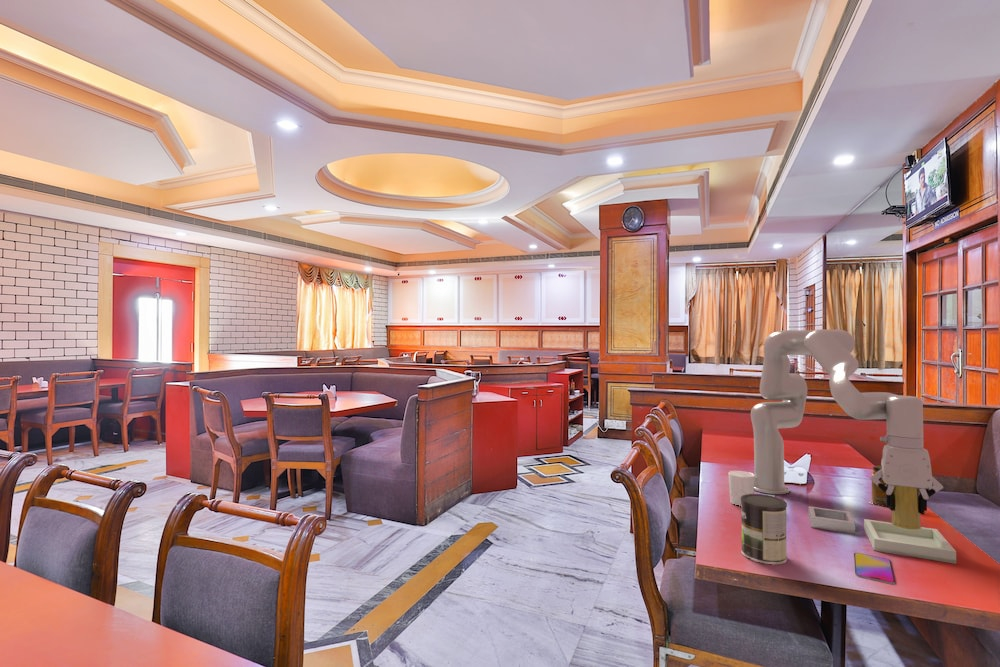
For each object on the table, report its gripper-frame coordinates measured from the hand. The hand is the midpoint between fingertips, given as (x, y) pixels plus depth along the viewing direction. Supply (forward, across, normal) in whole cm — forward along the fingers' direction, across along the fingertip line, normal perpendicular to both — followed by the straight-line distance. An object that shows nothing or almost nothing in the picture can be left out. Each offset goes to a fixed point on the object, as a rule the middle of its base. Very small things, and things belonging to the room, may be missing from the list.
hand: (906, 510), depth 131 cm
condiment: (+9, +2, +38) cm, 39 cm away
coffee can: (+9, -33, -25) cm, 42 cm away
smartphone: (+10, -10, -20) cm, 24 cm away
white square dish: (+9, -16, +8) cm, 20 cm away
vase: (+4, 0, 0) cm, 4 cm away
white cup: (+9, -40, +16) cm, 44 cm away
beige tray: (+9, 0, 0) cm, 9 cm away
